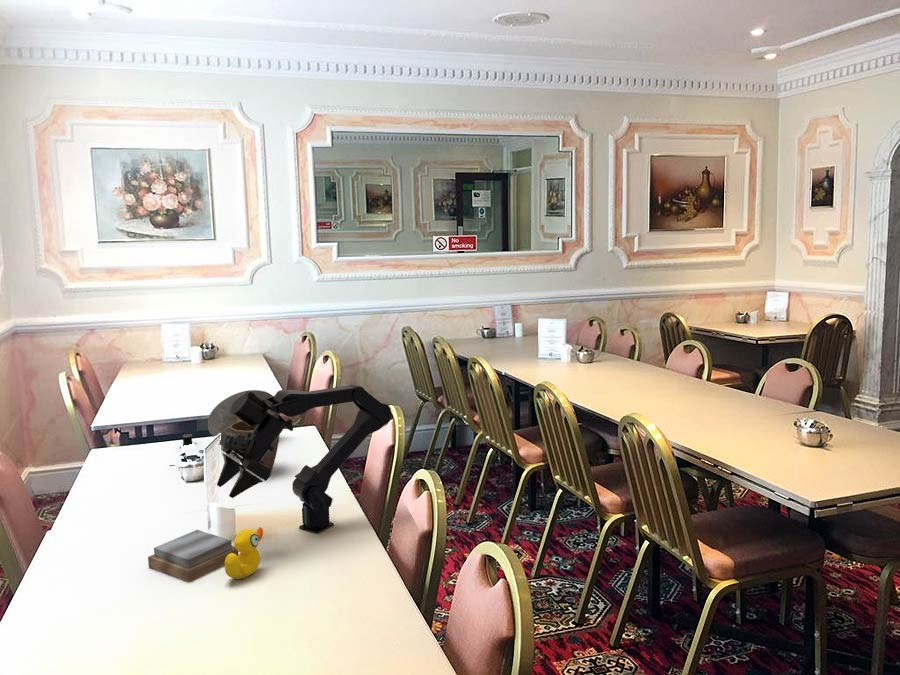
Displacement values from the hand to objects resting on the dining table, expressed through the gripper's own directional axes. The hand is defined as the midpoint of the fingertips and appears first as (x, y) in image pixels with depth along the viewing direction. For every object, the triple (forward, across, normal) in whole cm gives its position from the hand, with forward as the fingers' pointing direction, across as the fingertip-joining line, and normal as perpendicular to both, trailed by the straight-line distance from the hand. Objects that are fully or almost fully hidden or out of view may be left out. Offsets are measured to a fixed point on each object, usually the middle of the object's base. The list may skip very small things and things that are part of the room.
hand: (224, 491), depth 179 cm
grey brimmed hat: (-10, -80, +34) cm, 88 cm away
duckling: (+12, +16, +9) cm, 21 cm away
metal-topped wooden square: (+17, +2, +3) cm, 17 cm away
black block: (+1, -94, +22) cm, 97 cm away
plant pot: (-6, -50, +29) cm, 58 cm away
